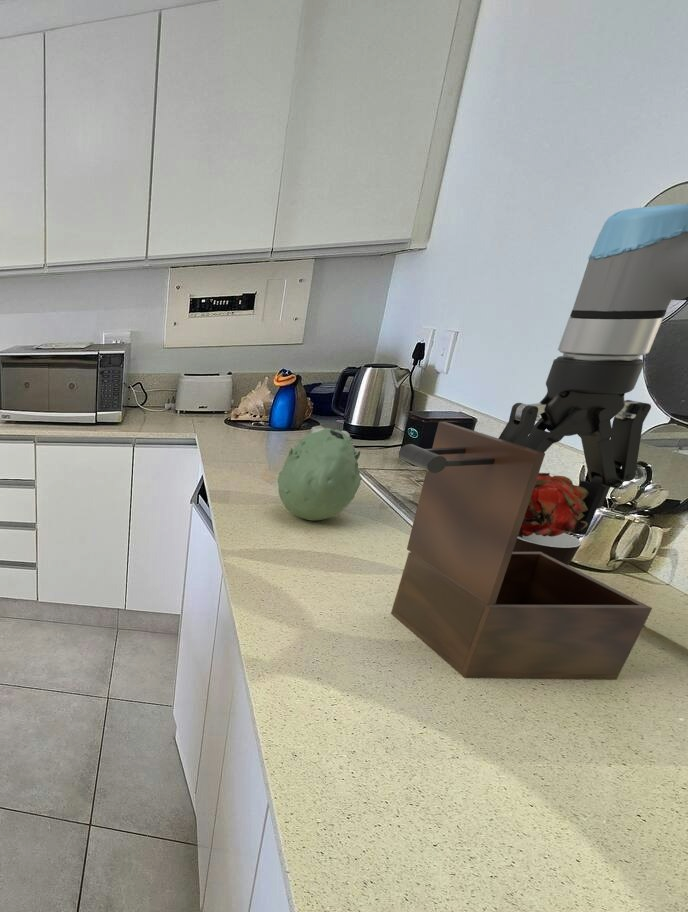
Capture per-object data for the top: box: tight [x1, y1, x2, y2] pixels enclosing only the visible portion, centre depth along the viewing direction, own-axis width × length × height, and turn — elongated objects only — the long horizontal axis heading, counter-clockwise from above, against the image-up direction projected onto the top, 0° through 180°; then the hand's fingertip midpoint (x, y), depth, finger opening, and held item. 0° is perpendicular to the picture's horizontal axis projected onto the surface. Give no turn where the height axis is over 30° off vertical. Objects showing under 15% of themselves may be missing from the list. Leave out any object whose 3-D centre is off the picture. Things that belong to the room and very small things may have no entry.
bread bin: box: [390, 551, 653, 680], centre depth 81 cm, size 19×17×11 cm
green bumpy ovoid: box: [277, 425, 363, 521], centre depth 125 cm, size 16×19×20 cm
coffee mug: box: [513, 532, 582, 566], centre depth 96 cm, size 12×9×10 cm
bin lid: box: [398, 421, 546, 604], centre depth 76 cm, size 20×17×9 cm
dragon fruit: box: [518, 472, 589, 538], centre depth 76 cm, size 8×8×12 cm
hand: (532, 530), depth 77 cm, fingers closed on dragon fruit, 9 cm apart
